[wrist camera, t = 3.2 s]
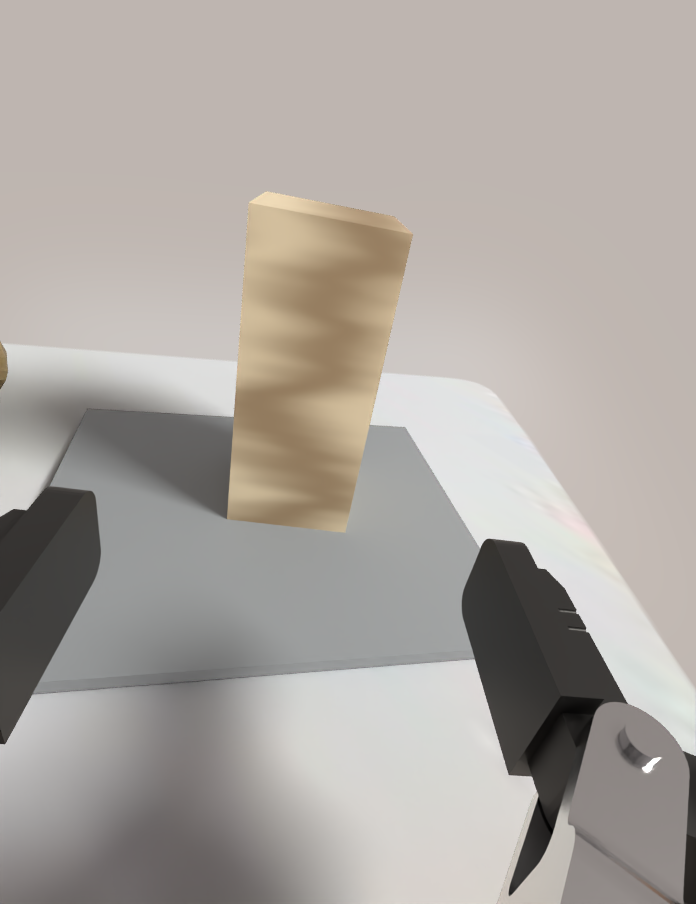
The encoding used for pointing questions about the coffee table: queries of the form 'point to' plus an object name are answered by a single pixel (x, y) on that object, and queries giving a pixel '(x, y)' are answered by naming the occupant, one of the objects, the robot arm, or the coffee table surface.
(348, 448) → the birch block
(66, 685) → the slate mat
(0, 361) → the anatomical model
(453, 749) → the coffee table surface
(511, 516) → the coffee table surface
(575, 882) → the robot arm
